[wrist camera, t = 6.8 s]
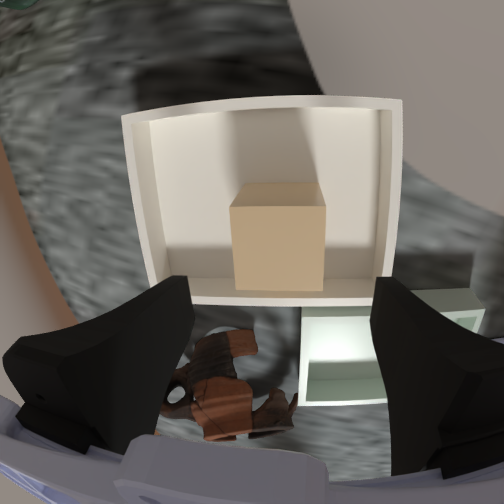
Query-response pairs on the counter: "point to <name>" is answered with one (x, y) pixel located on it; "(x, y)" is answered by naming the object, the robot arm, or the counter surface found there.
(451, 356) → the robot arm
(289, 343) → the counter surface
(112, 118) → the counter surface
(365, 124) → the cream bin
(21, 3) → the coffee jar
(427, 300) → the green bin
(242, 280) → the sandstone block
